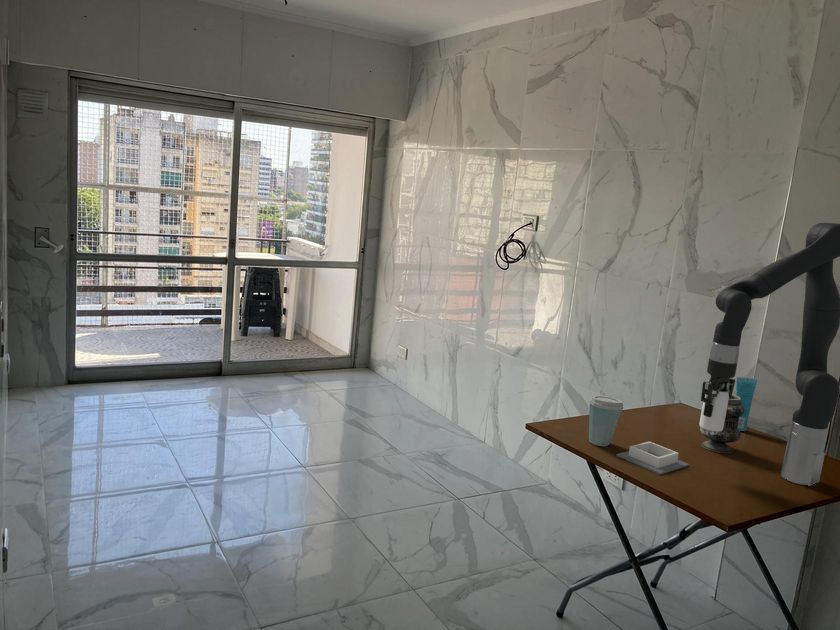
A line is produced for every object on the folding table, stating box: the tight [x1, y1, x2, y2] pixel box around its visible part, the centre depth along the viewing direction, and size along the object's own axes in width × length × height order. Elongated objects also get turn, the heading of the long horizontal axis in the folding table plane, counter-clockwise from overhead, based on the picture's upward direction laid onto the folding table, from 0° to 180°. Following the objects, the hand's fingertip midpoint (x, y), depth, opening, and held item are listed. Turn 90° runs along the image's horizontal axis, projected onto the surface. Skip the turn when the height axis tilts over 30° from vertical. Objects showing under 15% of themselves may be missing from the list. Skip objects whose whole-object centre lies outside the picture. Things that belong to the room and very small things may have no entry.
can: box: [698, 390, 729, 432], centre depth 197 cm, size 6×6×12 cm
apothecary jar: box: [699, 393, 745, 455], centre depth 220 cm, size 12×12×18 cm
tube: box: [734, 376, 758, 432], centre depth 242 cm, size 7×5×19 cm, turn 99°
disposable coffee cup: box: [588, 394, 624, 447], centre depth 215 cm, size 11×11×15 cm
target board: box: [616, 441, 690, 476], centre depth 204 cm, size 15×15×4 cm
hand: (713, 414), depth 197 cm, fingers closed on can, 6 cm apart
